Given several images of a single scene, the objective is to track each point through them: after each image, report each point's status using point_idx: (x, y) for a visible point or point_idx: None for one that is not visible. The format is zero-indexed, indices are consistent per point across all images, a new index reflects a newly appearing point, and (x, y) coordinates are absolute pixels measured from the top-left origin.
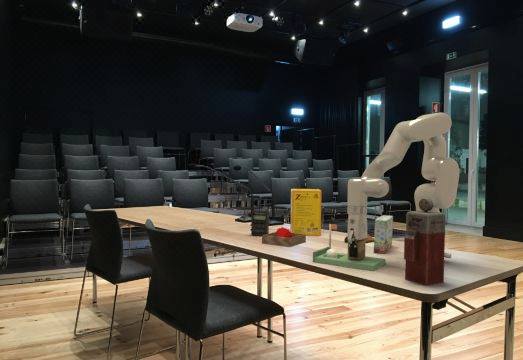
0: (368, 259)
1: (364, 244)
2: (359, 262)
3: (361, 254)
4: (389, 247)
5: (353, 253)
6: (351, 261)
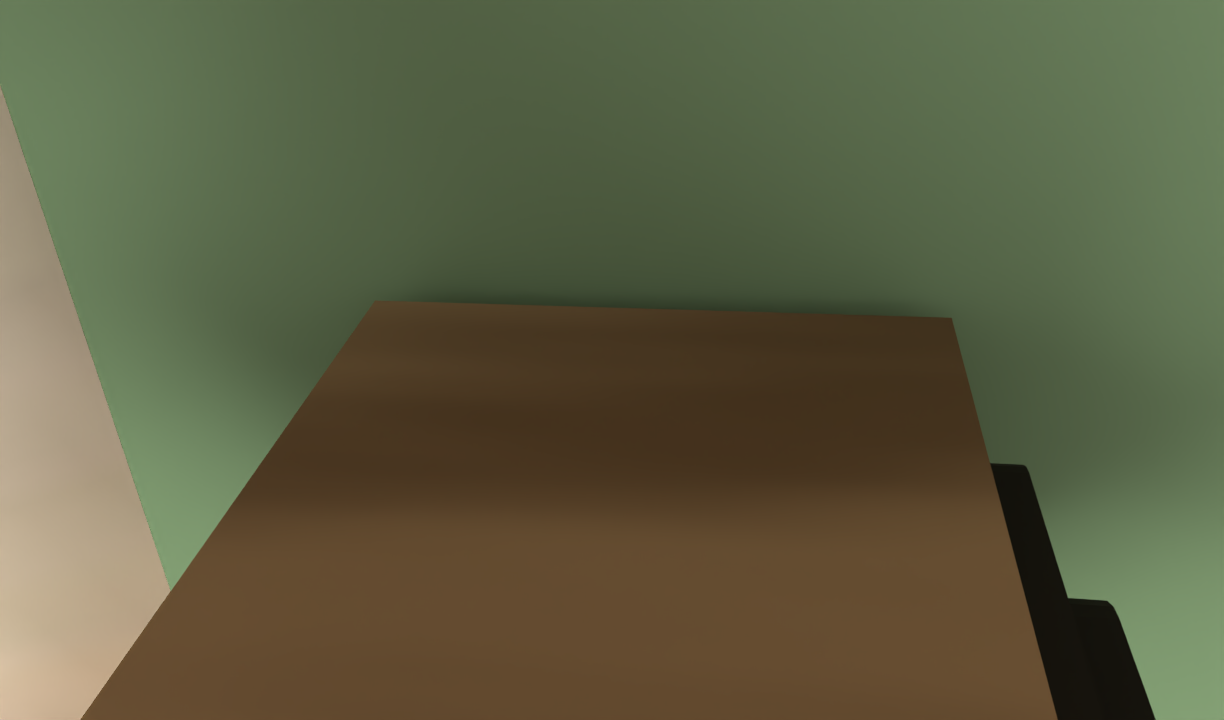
0: (474, 130)
1: (261, 690)
2: (1208, 236)
3: (776, 414)
4: None
5: (1117, 668)
6: (1154, 496)
